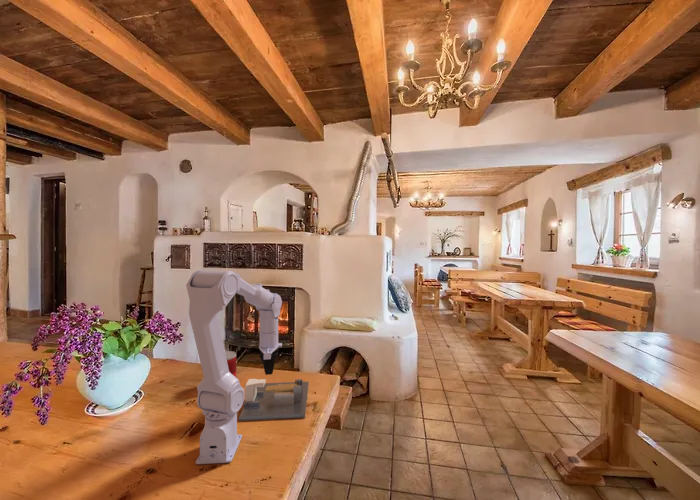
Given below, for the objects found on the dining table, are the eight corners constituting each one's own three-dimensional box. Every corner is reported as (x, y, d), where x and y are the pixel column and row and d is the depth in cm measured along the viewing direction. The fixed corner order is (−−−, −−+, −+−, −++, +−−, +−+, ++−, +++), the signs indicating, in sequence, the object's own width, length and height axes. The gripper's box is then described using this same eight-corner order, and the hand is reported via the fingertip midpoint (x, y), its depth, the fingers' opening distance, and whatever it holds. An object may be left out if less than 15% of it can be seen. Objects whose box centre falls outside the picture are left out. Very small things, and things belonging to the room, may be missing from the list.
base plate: (304, 417, 85) (304, 397, 85) (238, 420, 84) (238, 400, 84) (308, 384, 105) (308, 368, 105) (255, 387, 104) (255, 370, 104)
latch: (263, 402, 91) (263, 385, 91) (245, 403, 90) (245, 386, 90) (266, 394, 96) (266, 378, 95) (249, 395, 95) (249, 379, 95)
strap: (299, 390, 93) (299, 386, 93) (265, 392, 92) (265, 389, 92) (300, 385, 95) (300, 382, 95) (267, 388, 95) (267, 385, 95)
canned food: (240, 380, 108) (240, 351, 108) (229, 391, 100) (229, 359, 100) (220, 380, 109) (220, 350, 109) (207, 390, 101) (207, 358, 101)
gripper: (281, 337, 87) (281, 383, 87) (282, 324, 101) (282, 363, 101) (256, 338, 85) (256, 385, 85) (261, 325, 99) (261, 365, 100)
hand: (269, 373), depth 93 cm, fingers closed
